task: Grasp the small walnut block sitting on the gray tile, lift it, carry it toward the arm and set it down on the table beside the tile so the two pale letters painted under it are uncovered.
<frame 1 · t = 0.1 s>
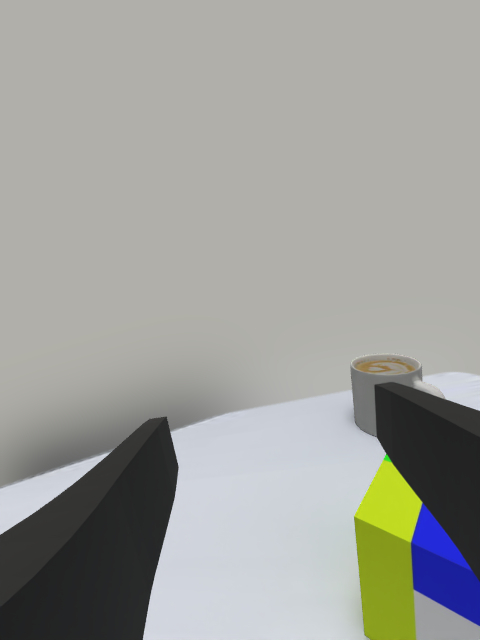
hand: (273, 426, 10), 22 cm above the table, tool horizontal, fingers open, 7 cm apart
coffee mug: (396, 427, 45), on the table
puzzle toy: (458, 619, 21), on the table
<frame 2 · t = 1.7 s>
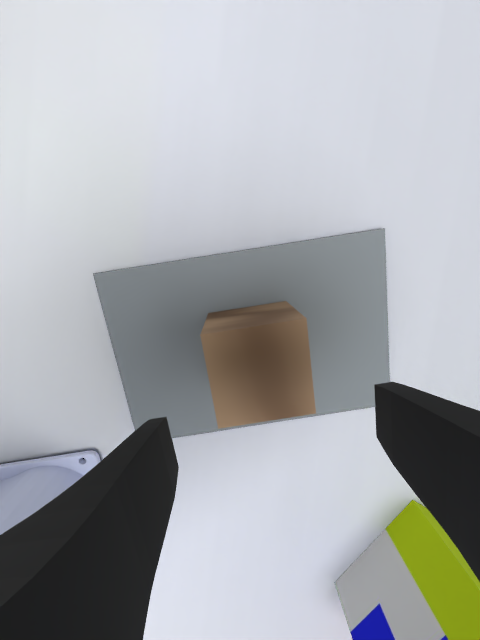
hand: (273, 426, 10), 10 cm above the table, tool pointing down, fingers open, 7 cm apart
walnut block: (252, 343, 19), resting on gray tile
gray tile: (252, 342, 19), on the table
puzzle toy: (414, 564, 24), on the table
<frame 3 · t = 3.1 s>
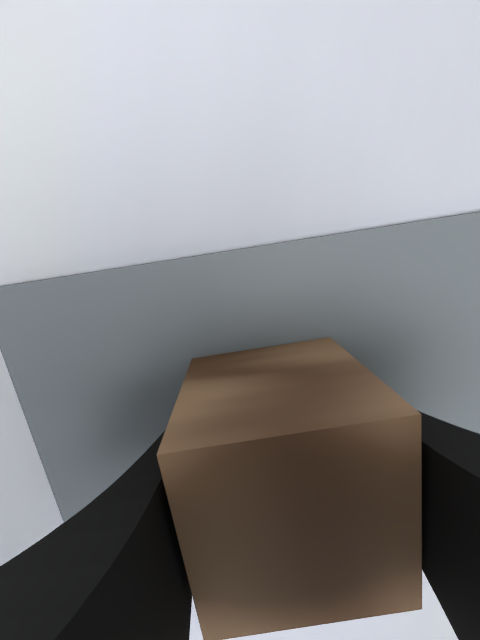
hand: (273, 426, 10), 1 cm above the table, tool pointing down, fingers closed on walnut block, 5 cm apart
walnut block: (269, 409, 11), resting on gray tile, touching gripper
gray tile: (268, 405, 11), on the table
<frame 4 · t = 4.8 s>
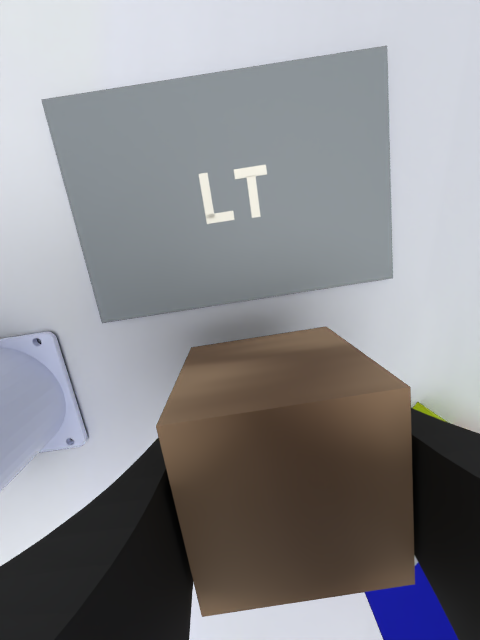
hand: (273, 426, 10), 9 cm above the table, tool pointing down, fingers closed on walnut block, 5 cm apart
walnut block: (267, 398, 11), point 8 cm above the table, touching gripper
gray tile: (232, 197, 16), on the table
puzzle toy: (419, 482, 22), on the table
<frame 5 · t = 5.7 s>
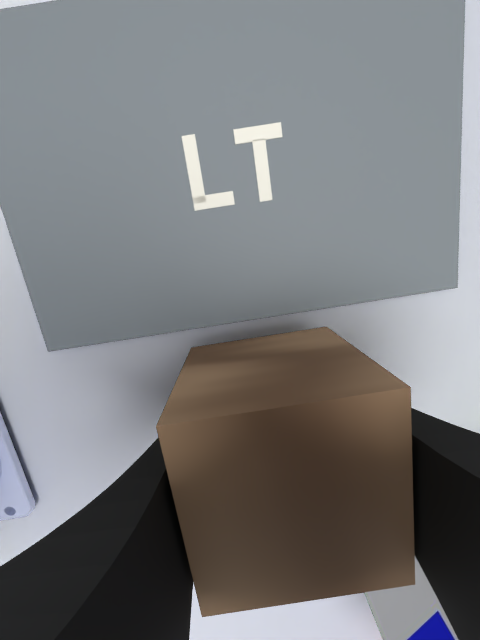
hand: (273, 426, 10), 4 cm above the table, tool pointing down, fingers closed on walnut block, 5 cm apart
walnut block: (267, 398, 11), point 2 cm above the table, touching gripper
gray tile: (231, 172, 11), on the table
puzzle toy: (475, 551, 17), on the table
when the fingers open (2 cm above the table, at t = 6.5 s): walnut block drops 1 cm, on the table.
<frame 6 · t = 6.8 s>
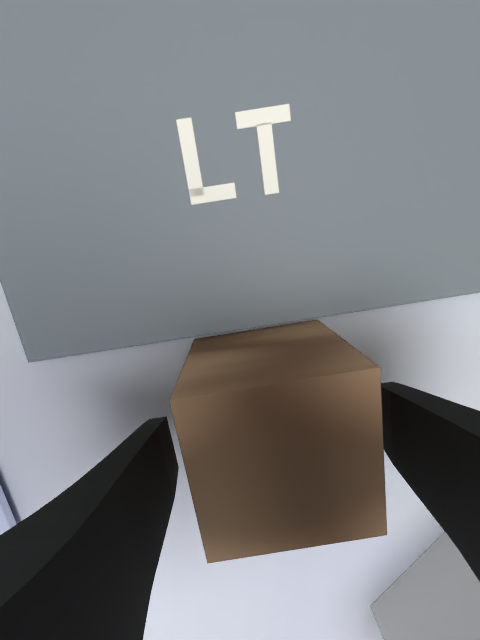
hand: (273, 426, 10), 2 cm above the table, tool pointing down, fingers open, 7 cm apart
walnut block: (263, 384, 12), on the table
gray tile: (232, 161, 10), on the table
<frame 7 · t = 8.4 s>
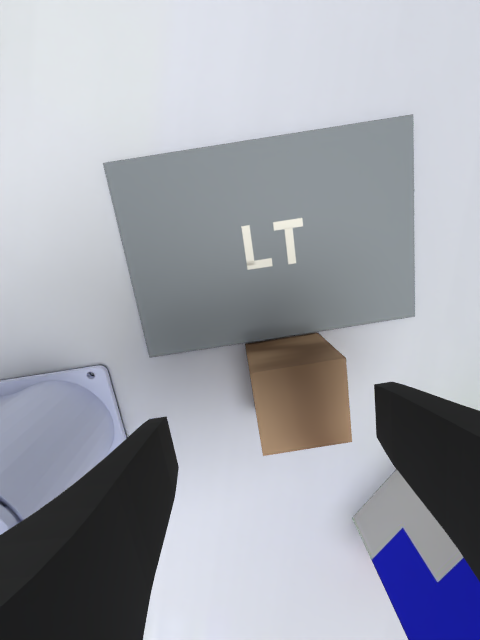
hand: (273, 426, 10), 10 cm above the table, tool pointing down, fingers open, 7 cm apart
walnut block: (285, 371, 20), on the table
gray tile: (270, 245, 18), on the table
puzzle toy: (435, 499, 23), on the table
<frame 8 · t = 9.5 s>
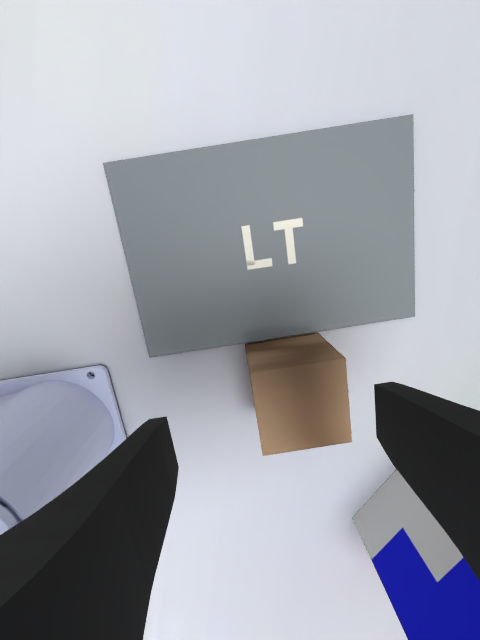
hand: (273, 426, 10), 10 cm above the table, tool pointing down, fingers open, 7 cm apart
walnut block: (285, 371, 20), on the table
gray tile: (270, 245, 18), on the table
puzzle toy: (435, 499, 23), on the table
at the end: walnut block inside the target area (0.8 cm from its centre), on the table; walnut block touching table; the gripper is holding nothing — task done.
